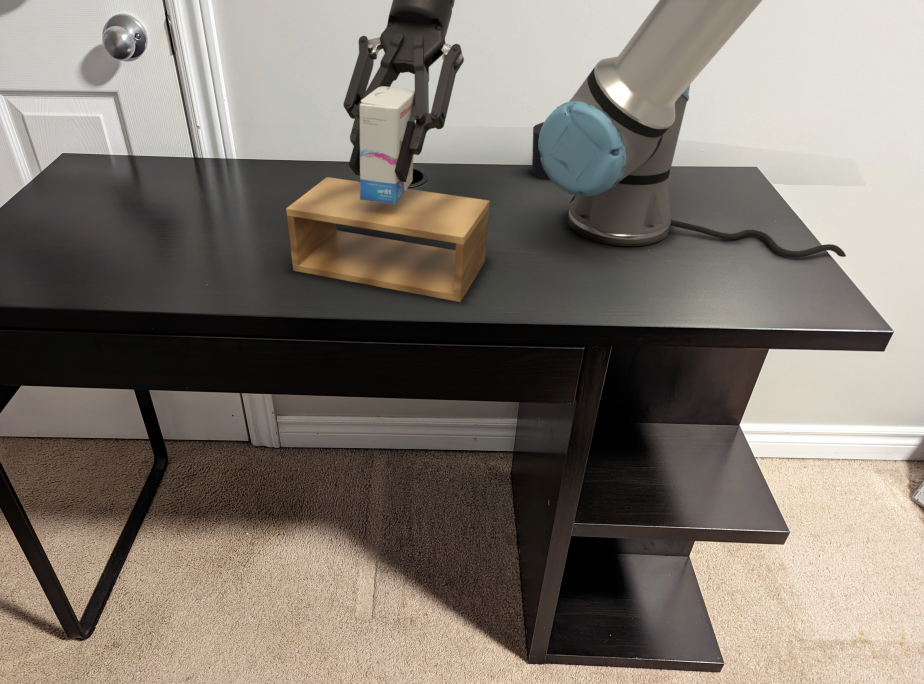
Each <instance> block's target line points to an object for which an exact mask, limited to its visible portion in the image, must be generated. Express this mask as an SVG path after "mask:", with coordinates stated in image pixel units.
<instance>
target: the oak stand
mask: <svg viewBox="0 0 924 684" xmlns="http://www.w3.org/2000/svg"><path fill="white" fill-rule="evenodd" d="M490 203H491V200H487V199H481V198H473V197H467V196H461V195H460V196H459V195H452V194H446V193H439V192H433V191H425V190H419V189H413V188H407V189H406V190H405V192H404V193H403V194H402V196H401V197H400V199H399V200H398V201H397V203H396V204H390V203H383V202H375V201H367V200H360V181H357V180H350V179H344V178H343V179H342V178H335V177H330V176H329V177H328V176H326V177H324V178H323V179H322V180H321V181H320V182H318V184H316V185H314V186H313V187H312V188H311V189H309V190H308V191H307V192H306V193H304V194H303V195H302V196H301V197H299V198H298V199H297V200H295V201H294V202H293V203H291V204H290V205H289V206H288V207H286V208H285V210H286V219H287V228H288V235H289V236H288V237H289V238H288V239H289V245H290V255H291V263H292V264H291V265H292V271H294V272H298V273H304V274H308V275H315V276H319V277H324V278H330V279H334V280H335V279H336V280H341V281H346V282H351V283H357V284H362V285H367V286H371V287H377V288H382V289H389V290H393V291H399V292H404V293H410V294H413V295H419V296H420V295H421V296H425V297H431V298H435V299H441V300H447V301H453V302H456V303H461V302H462V300H463V299H464V297H465V295H466V294H467V292H468V290H469V289H470V287H471V286H472V284H473V282H474V281H475V279H476V277H477V276H478V274H479V273H480V271H481V269H482V268H483V266H484V264H485V263H486V258H487V257H486V256H487V255H486V254H487V244H488V243H487V242H488V230H489V219H490V205H491V204H490ZM337 224H338V225H342V226H347V227H348V226H349V227H354V228H360V229H367V230H373V231H377V232H378V231H379V232H385V233H391V234H398V235H401V236H402V235H403V236H409V237H413V238H414V237H415V238H421V239H426V240H434V241H440V242H445V243H452V244H455V249H449V248H444V247H437V246H432V245H427V244H420V243H414V242H409V241H403V240H395V239H390V238H383V237H379V236H372V235H365V234H361V233H354V232H350V231H349V232H348V231H343V230H337Z"/></svg>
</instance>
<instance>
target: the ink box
mask: <svg viewBox="0 0 924 684" xmlns="http://www.w3.org/2000/svg"><path fill="white" fill-rule="evenodd" d="M361 102H362V103H361V104H360V175H359V182H360V200H367V201H375V202H383V203H390V204H396V203H397V201H398V200H399V199H400V197H401V196H402V194H403V193H404V192H405V190H406V189H409V186H410V185H411V183H412V182H413V177H414V175H413V173H414V157H413V158H412V161H411V165H410V169H409V173H408V176H407V180H406V182H401V181H400V180H399V178H398V177H397V175H396V173H395V167H396V164H397V160H398V156H399V153H400V149H401V145H402V141H403V138H404V134H405V130H406V127H407V123H408V121H413V122H414V123H415V122H416V120H415V118H414V115H415V90H412V89H403V88H398V87H392V86H390V87H385V86H381V87H378V88H377V89H376V90H374V91H373V92H371V93H370V94H369V95H368V96H366V97H365V98H364V99H362V100H361ZM413 156H414V154H413Z"/></svg>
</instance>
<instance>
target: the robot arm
mask: <svg viewBox="0 0 924 684" xmlns="http://www.w3.org/2000/svg"><path fill="white" fill-rule="evenodd" d="M762 2H763V0H658V1H657V3H656V4H655V5H654V7H653V8H652V10H650V12H649V14H648V15H647V16H646V18H645V19H644V20H643V22H642V23H641V25H640V26H638V28H637V30H636V32H635V33H634V34H633V35H632V37H631V38H630V39H629V41H628V42H627V44H626V45H625V46H624V47H623V49H622V50H621V52H620V53H619V55H618V56H613V57H606V58H602V59H600V60H599V61H597V63H596V64H595V66H593V69H591V71H590V73H589V74H588V75H587V77H586V78H585V80H584V81H583V82H582V84H580V86H579V88H578V89H577V91H576V92H575V93H574V94H573V96H572V97H571V98H570V100H569V101H567V102H564V103H561V104H560V105H558V106H557V107H556V108H555V109H554V110H553V111H552V112H551V113H549V115H548V116H547V117H546V119H545V120H544V121H543V122H544V124H543V126H542V128H541V131H540V135H539V141H538V148H539V151H540V157H541V159H540V160H541V163H542V166H543V168H544V170H545V172H546V174H547V175H548V177H549V178H550V179H549V180H550V181H551V182H552V183H553V184H554V185H555V186H557V187H558V188H559V189H560V190H562V191H564V192H565V193H567V194H570V195H572V196H573V197H572V198H571V199H570V202H569V204H570V206H569V209H568V214H567V215H568V216H567V223H568V226H569V227H570V229H571V230H572V231H574V232H575V233H577V234H578V235H579V236H582V237H583V238H586V239H588V240H591V241H593V242H598V243H601V244H606V245H611V246H612V245H613V246H617V247H618V246H619V247H640V246H647V245H652V244H655V243H658V242H660V241H663V240H664V239H665V238H666V237H667V236H668V234H669V231H670V227H674V228H679V229H682V230H683V229H684V230H687V231H693V232H697V233H700V234H705V235H708V236H711V237H714V238H718V239H722V240H738V239H741V238H744V237H747V236H750V237H751V236H752V237H756V238H759V239H762V240H763V241H764V242H765V243H766V244H767V245H768V247H769V248H770V249H771V250H772V251H773V252H775V253H776V254H778V255H781V256H784V257H789V258H803V257H808V256H812V255H815V254H818V253H822V252H825V251H826V252H827V251H831V252H833V253H834V254H836V255H837V257H841V258H846V257H847V255H846V253H845V251H844V250H843V249H842V248H841V247H840V246H838V245H836V244H831V243H828V244H821V245H818V246H817V245H816V246H814V247H811V248H807V249H802V250H788V249H786V248H783V247H781V246H779V244H777V243H776V242H775V241H774V239H773V238H772V237H771V236H770V235H769V234H767V233H766V232H763V231H761V230H756V229H743V230H742V231H738V232H735V233H734V232H733V233H727V232H721V231H717V230H714V229H712V228H711V229H710V228H707V227H704V226H699V225H697V224H696V225H695V224H692V223H687V222H683V221H678V220H674V219H672V213H671V203H670V201H671V200H670V192H669V178H670V174H671V169H672V166H673V161H674V156H675V153H676V148H677V145H678V141H679V136H680V133H681V128H682V123H683V119H684V116H685V112H686V107H687V103H688V102H689V100H690V95H689V94H690V88H691V84H692V83H693V82H694V81H695V80H696V78H697V77H698V76H699V75H700V73H702V72H703V70H704V69H705V68H706V67H707V66H708V65H709V63H710V62H711V61H712V60H713V59H714V58H715V56H716V55H717V54H718V53H719V52H720V51H721V49H722V48H723V47H725V45H726V43H727V42H728V41H729V40H730V39H731V38H732V37H733V35H734V34H735V33H736V32H737V31H738V29H740V27H741V26H742V25H743V24H744V23H745V21H746V20H747V19H748V18H749V17H750V16H751V14H752V13H753V12H754V11H755V10H756V9H757V8H758V6H759V5H760V4H761V3H762ZM455 3H456V0H392V3H391V7H390V10H389V13H388V17H387V25H386V27H385V28H384V30H383V31H382V32H381V34H380V36H379V37H375V38H371V39H369V38H368V37H367V36H366V35H362V36H360V37H359V38H358V55H357V59H356V61H355V65H354V68H353V71H352V75H351V77H350V81H349V84H348V88H347V91H346V94H345V97H344V101H343V104H342V105H343V108H344V110H345V111H346V113H347V115H348V117H350V119H353V123H352V127H351V131H350V135H349V141H350V143H351V144H352V146H353V148H352V151H351V155H350V158H349V162H348V166H349V168H350V169H351V171H352V172H353V173H354V175H355V176H360V104H361V103H362V102H361V100H362V99H364V98H365V97H366V96H368V95H369V94H370V93H371V92H373V91H374V90H376V89H377V88H378V87H381V86H385V87H392V84H393V83H394V82H395V81H397V79H398V78H399V76H400V75H401V74H404V73H410V74H412V75H414V91H415V115H414V118H415V123H414V122H413V121H408V123H407V127H406V130H405V134H404V138H403V141H402V145H401V149H400V153H399V156H398V160H397V164H396V167H395V173H396V175H397V177H398V178H399V180H400V181H401V182H406V180H407V176H408V173H409V169H410V165H411V161H412V158H413V159H414V155H415V156H420V154H421V153H422V151H423V148H424V144H425V140H426V136H427V133H428V131H430V130H432V129H436V130H441V129H443V128H444V126H445V123H446V119H447V115H448V111H449V105H450V102H451V97H452V93H453V90H454V85H455V81H456V76H457V74H458V72H459V70H460V68H461V67H462V65H463V64H464V62H465V57H464V55H463V51H462V46H461V44H458V43H454V44H452V45H451V44H448V43H446V36H447V34H448V29H449V26H450V23H451V19H452V15H453V9H454V7H455ZM381 50H383V53H384V54H383V56H382V58H381V60H380V65H379V67H378V69H377V71H376V72H375V75H374V76H373V78H372V80H371V82H369V81H370V79H371V76H372V72H373V69H374V64H375V60H377V59H378V55H379V52H380V51H381ZM440 58H442V63H441V67H440V71H439V76H438V81H437V85H436V90H435V93H434V98H433V102H432V107H431V110H430V100H429V98H430V97H429V96H430V94H429V93H430V91H429V89H430V88H429V83H430V67H431V66H432V65H433V64H435V62H437V61H438V60H439V59H440ZM413 154H414V155H413Z"/></svg>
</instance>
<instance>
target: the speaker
mask: <svg viewBox="0 0 924 684" xmlns="http://www.w3.org/2000/svg"><path fill="white" fill-rule="evenodd" d="M544 122H545V121H543V122H540V123H537V124H535V125H534V126H533V127H532V155H531V158H532V159H531V169H532V170H531V171H532V172H531V173H532V175H533V176H534V177H536V178H538V179H542V180H551V179H550V178H549V177H548V175H547V174H546V172H545V170H544V168H543V166H542V163H541V160H540V159H541V157H540V151H539V148H538V141H539V135H540V131H541V128H542V126H543V124H544Z"/></svg>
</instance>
